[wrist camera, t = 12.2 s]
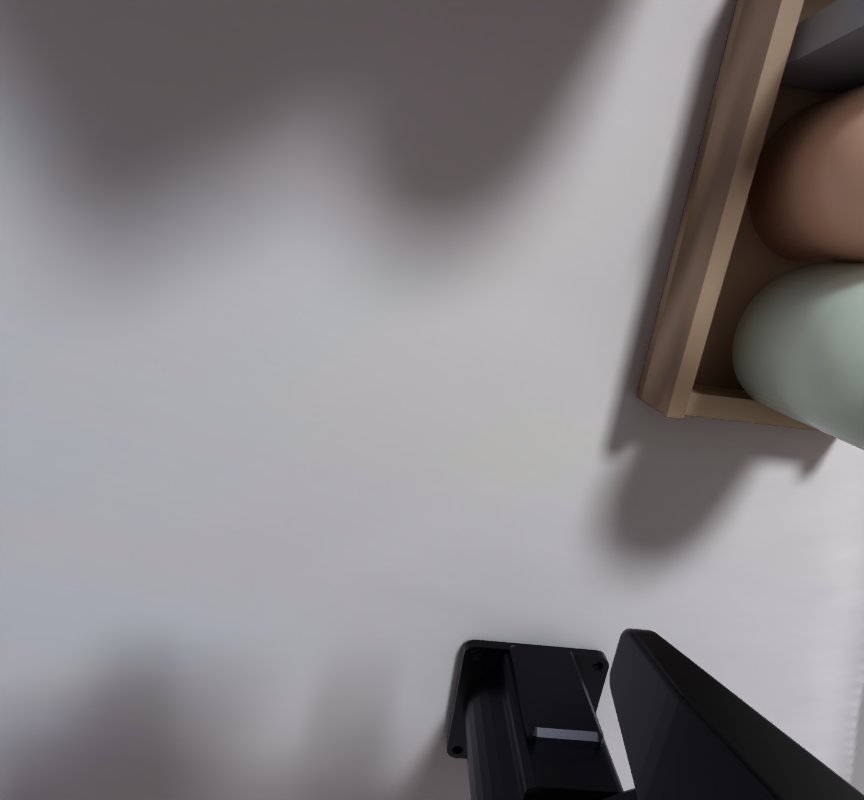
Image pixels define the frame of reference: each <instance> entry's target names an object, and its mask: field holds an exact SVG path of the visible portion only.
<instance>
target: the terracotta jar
mask: <svg viewBox="0 0 864 800" xmlns="http://www.w3.org/2000/svg"><path fill="white" fill-rule="evenodd" d="M748 205H749V213H750V217H751V221H752V224H753V226H754V228H755V231H756V233H757V234H758V236H759V237H760V239H761V240H762V241H763V243H764V244H765V245H766V246H767V247H768V248H770V249H771V250H772V251H773V252H775V253H777V254H778V255H780V256H782V257H785V258H787V259H790V260H795V261H802V262H852V263H864V85H862V86H859V87H857V88H854V89H851V90H849V91H846V92H843V93H841V94H838V95H836V96H833V97H830V98H828V99H825V100H822V101H820V102H817V103H815V104H812V105H810V106H808V107H806V108H804V109H802V110H800V111H799V112H797V113H795V114H794V115H792V116H791V117H790V118H789V119H787V120H786V121H785V122H784V123H783V124H782V125H781V126H780V127H779V128H778V129H777V130H776V131H775V132H774V133H773V134H772V136H771V137H770V138H769V140H768V141H767V142H766V144H765V146H764V147H763V149H762V150H761V152H760V155H759V159H758V162H757V166H756V169H755V173H754V176H753V180H752V183H751V187H750V190H749V194H748Z"/></svg>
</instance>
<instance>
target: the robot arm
mask: <svg viewBox="0 0 864 800" xmlns="http://www.w3.org/2000/svg"><path fill="white" fill-rule="evenodd" d="M474 651H477V653H474V654H473V653H472V652H474ZM595 662H598V663H596V664H594V663H595ZM608 668H609V663H608V661H607V659H606V657H605V655H604V653H603V652H601V651H598V650H587V649H576V648H564V647H553V646H542V645H530V644H519V643H507V642H496V641H484V640H470V641H468V642H467V643H466V644H465V645H464V647H463V651H462V657H461V662H460V668H459V674H458V679H457V685H456V691H455V696H454V702H453V708H452V713H451V719H450V725H449V730H448V736H447V753H448V754H449V755H450V756H451V757H454V758H463V759H467V760H468V771H469V783H470V794H471V800H864V795H863V794H862V793H860V792H859V791H858V790H856V789H855V788H854V787H853V786H851V785H850V784H849V783H848V782H846V781H845V780H844V779H842V778H841V777H840V776H839V775H837V774H836V773H835V772H834V771H832V770H831V769H830V768H828V767H827V766H826V765H825V764H823V763H822V762H821V761H819V760H818V759H817V758H816V757H814V756H813V755H812V754H810V753H809V752H808V751H807V750H805V749H804V748H803V747H801V746H800V745H799V744H798V743H796V742H795V741H794V740H793V739H791V738H790V737H789V736H787V735H786V734H785V733H784V732H782V731H781V730H780V729H778V728H777V727H776V726H775V725H773V724H772V723H771V722H769V721H768V720H767V719H766V718H764V717H763V716H762V715H761V714H759V713H758V712H757V711H755V710H754V709H753V708H752V707H750V706H749V705H748V704H746V703H745V702H744V701H743V700H741V699H740V698H739V697H737V696H736V695H735V694H734V693H732V692H731V691H730V690H728V689H727V688H726V687H725V686H723V685H722V684H721V683H720V682H718V681H717V680H716V679H714V678H713V677H712V676H711V675H709V674H708V673H707V672H705V671H704V670H703V669H702V668H700V667H699V666H698V665H696V664H695V663H694V662H693V661H691V660H690V659H689V658H688V657H686V656H685V655H684V654H682V653H681V652H680V651H679V650H677V649H676V648H675V647H673V646H672V645H671V644H670V643H668V642H667V641H666V640H664V639H663V638H662V637H661V636H659V635H658V634H657V633H655V632H653V631H650V630H641V629H630V628H629V629H626V630H624V631H623V632H622V634H621V636H620V639H619V643H618V646H617V650H616V653H615V657H614V660H613V664H612V667H611V671H610V689H611V693H612V697H613V701H614V705H615V709H616V713H617V717H618V721H619V725H620V729H621V733H622V737H623V741H624V745H625V749H626V753H627V757H628V761H629V765H630V769H631V773H632V777H633V781H634V785H635V788H634V789H630V790H627V791H623V788H622V785H621V783H620V780H619V777H618V775H617V772H616V769H615V767H614V764H613V761H612V759H611V756H610V753H609V751H608V748H607V745H606V743H605V740H604V736H603V732H602V729H601V727H600V724H599V721H598V719H597V716H596V710H597V707H598V703H599V700H600V696H601V693H602V689H603V686H604V682H605V679H606V675H607V672H608Z"/></svg>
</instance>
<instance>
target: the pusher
mask: <svg viewBox="0 0 864 800" xmlns="http://www.w3.org/2000/svg"><path fill="white" fill-rule="evenodd" d="M780 85H786V86H793V87H799V88H805V89H812V90H818V91H825V92H831V93H837V94H841V93H843V92H846V91H849V90H851V89H854V88H857V87H859V86H862V85H864V0H836V1H835V2H833V3H832V4H830V5H828V6H827V7H825V8H823V9H822V10H820V11H818V12H817V13H815V14H813V15H812V16H810V17H808V18H807V19H805V20H803V21H802V22H800V23H799V24H797V27H796V31H795V34H794V37H793V41H792V44H791V48H790V51H789V55H788V58H787V62H786V65H785V69H784V72H783V76H782V79H781V83H780Z"/></svg>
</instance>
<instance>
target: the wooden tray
mask: <svg viewBox="0 0 864 800" xmlns="http://www.w3.org/2000/svg"><path fill="white" fill-rule="evenodd" d="M835 1H836V0H737V4H736V8H735V12H734V16H733V20H732V24H731V28H730V32H729V36H728V40H727V44H726V47H725V51H724V55H723V59H722V63H721V67H720V71H719V75H718V79H717V83H716V87H715V91H714V94H713V98H712V102H711V106H710V110H709V114H708V118H707V122H706V126H705V130H704V134H703V138H702V141H701V145H700V149H699V153H698V157H697V161H696V165H695V169H694V173H693V177H692V181H691V184H690V188H689V192H688V196H687V200H686V204H685V208H684V212H683V216H682V220H681V224H680V228H679V231H678V235H677V239H676V243H675V247H674V251H673V255H672V259H671V263H670V267H669V271H668V275H667V278H666V282H665V286H664V290H663V294H662V298H661V302H660V306H659V310H658V314H657V318H656V322H655V325H654V329H653V333H652V337H651V341H650V345H649V349H648V353H647V357H646V361H645V365H644V369H643V372H642V376H641V380H640V384H639V388H638V392H637V396H636V397H638V398H639V399H641V400H642V401H644V402H645V403H647V404H648V405H650V406H651V407H653V408H654V409H656V410H657V411H659V412H660V413H662V414H663V415H665V416H666V417H673V418H682V419H684V416H685V415H689V416H698V417H706V418H715V419H724V420H732V421H741V422H750V423H758V424H767V425H775V426H784V427H793V428H801V429H810V430H817V429H815V428H813V427H811V426H808V425H806V424H804V423H802V422H799V421H797V420H795V419H793V418H790V417H788V416H786V415H784V414H781V413H779V412H777V411H775V410H772V409H770V408H768V407H766V406H764V405H762V404H760V403H758V402H757V401H755V400H754V399H752V398H751V397H750V396H749V395H748V394H747V393H746V392H745V390H744V389H743V388H742V386H741V385H740V383H739V381H738V379H737V376H736V373H735V370H734V366H733V358H732V349H733V340H734V336H735V331H736V329H737V326H738V323H739V321H740V319H741V317H742V315H743V313H744V311H745V309H746V308H747V306H748V305H749V303H750V302H751V301H752V299H753V298H754V297H755V296H756V295H757V294H758V293H759V292H760V291H761V290H762V289H763V288H764V287H765V286H766V285H767V284H768V283H770V282H771V281H772V280H773V279H775V278H776V277H778V276H780V275H781V274H783V273H785V272H787V271H789V270H791V269H793V268H796V267H799V266H802V265H806V264H810V263H817V262H802V261H795V260H790V259H787V258H785V257H782V256H780V255H778V254H777V253H775V252H773V251H772V250H771V249H770V248H768V247H767V246H766V245H765V244H764V243H763V241H762V240H761V239H760V237H759V236H758V234H757V233H756V231H755V228H754V226H753V224H752V221H751V217H750V213H749V205H748V194H749V190H750V187H751V183H752V180H753V176H754V173H755V169H756V166H757V162H758V159H759V155H760V152H761V150H762V149H763V147H764V146H765V144H766V142H767V141H768V140H769V138H770V137H771V136H772V134H773V133H774V132H775V131H776V130H777V129H778V128H779V127H780V126H781V125H782V124H783V123H784V122H785V121H786V120H787V119H789V118H790V117H791V116H792V115H794V114H795V113H797V112H799V111H800V110H802V109H804V108H806V107H808V106H810V105H812V104H815V103H817V102H820V101H822V100H825V99H828V98H830V97H833V96H836V95H838V94H837V93H831V92H825V91H818V90H812V89H805V88H799V87H793V86H786V85H780V83H781V79H782V76H783V72H784V69H785V65H786V62H787V58H788V55H789V51H790V48H791V44H792V41H793V37H794V34H795V31H796V27H797V24H799V23H800V22H802V21H803V20H805V19H807V18H808V17H810V16H812V15H813V14H815V13H817V12H818V11H820V10H822V9H823V8H825V7H827V6H828V5H830V4H832V3H833V2H835ZM819 431H820V430H819Z"/></svg>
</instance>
